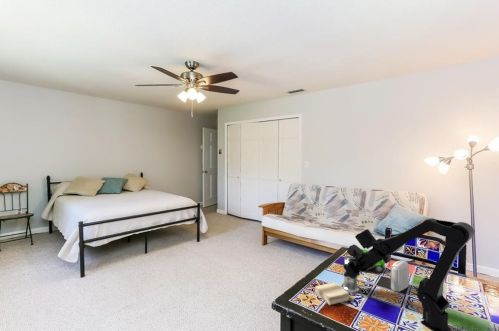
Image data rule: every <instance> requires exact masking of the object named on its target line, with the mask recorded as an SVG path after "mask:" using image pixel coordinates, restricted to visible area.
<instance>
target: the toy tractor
mask: <svg viewBox="0 0 499 331" xmlns="http://www.w3.org/2000/svg"><path fill="white" fill-rule="evenodd" d="M361 249H362V250H363V251H364V252H367V251H369V249H364V248H361ZM385 268H386V263H385V262H384V261H383V260H382V261H380V262H379V263H378V264H376V266H375V267H373V269H374V270H375V272H376V273H379V274H381V273H383V272H384V271H385ZM366 272H368V271H365V272H364V273H366Z"/></svg>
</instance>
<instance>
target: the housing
mask: <svg viewBox="0 0 499 331" xmlns="http://www.w3.org/2000/svg"><path fill="white" fill-rule="evenodd" d="M354 259H355V258H354V257H353V256H350V255H348V256H345V258H344V260H343V261H344V264H346V263H348V262H353V263H354V265H355V263H356V262H355V260H354ZM344 264H343V265H344ZM355 266H357V265H355ZM345 272H346V270H345V269H344V273H345ZM344 273H343V274H344ZM343 278H344V281H343V282H344V283H343V284H342V288H343V289H344V290H345V291H347V292H348V293H349V294H350V293H351V294H357V293H359V291H360V287H359V286H358V276H357V277H356V278H354V279H351V278H350V277H345V276H344V275H343Z"/></svg>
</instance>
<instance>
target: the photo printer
mask: <svg viewBox="0 0 499 331" xmlns="http://www.w3.org/2000/svg"><path fill="white" fill-rule="evenodd" d="M409 281H410V265H409V263H408V262H407V261H405V260H397V261H395V262H394V263H393V264H392V265H391V267H390V289H391V290H392V291H394V292H401V291H404V290H405V289H407V288H408V287H410V282H409Z"/></svg>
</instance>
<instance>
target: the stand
mask: <svg viewBox="0 0 499 331" xmlns="http://www.w3.org/2000/svg"><path fill="white" fill-rule="evenodd" d="M314 288H315V290H314V291H315V294H316V295H317V296H318V297H319V298H321V299H322V300H323V301H324V302H325V303H326V304H328V305H329V306H331V305H335V304H339V303H344V302H346V301H349V300H350V293H349V292H347V291H345V290H344V289H343V287H341V285H338V284H337V283H336V282H334V281H333V282H329V283H323V284H319V285H315V287H314Z"/></svg>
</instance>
